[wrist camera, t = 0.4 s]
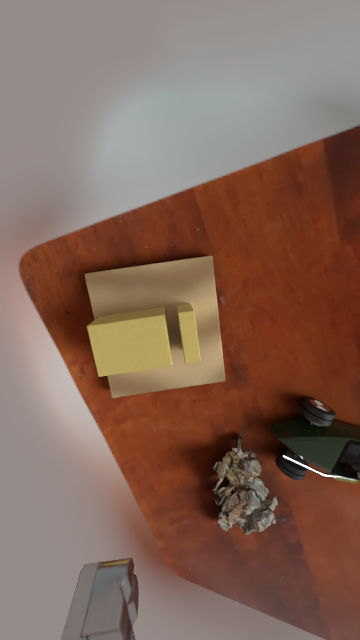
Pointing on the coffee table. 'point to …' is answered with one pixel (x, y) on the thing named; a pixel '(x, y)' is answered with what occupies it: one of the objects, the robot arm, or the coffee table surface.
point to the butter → (130, 341)
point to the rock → (243, 492)
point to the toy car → (318, 444)
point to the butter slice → (188, 333)
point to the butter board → (167, 291)
